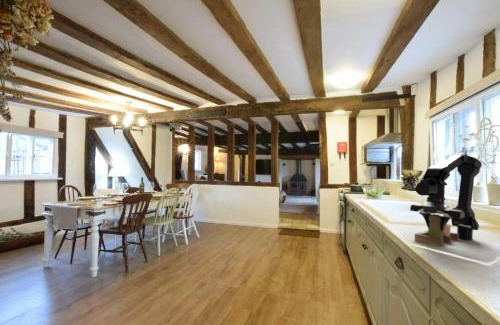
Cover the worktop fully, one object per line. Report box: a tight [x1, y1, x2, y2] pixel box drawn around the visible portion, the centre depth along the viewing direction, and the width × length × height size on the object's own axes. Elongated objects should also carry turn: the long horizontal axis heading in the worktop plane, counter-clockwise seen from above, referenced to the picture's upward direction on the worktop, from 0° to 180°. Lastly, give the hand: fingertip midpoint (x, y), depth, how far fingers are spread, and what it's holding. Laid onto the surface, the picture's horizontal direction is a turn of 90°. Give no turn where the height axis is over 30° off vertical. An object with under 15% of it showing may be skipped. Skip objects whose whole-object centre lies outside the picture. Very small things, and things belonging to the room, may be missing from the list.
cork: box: [427, 213, 444, 241], centre depth 110 cm, size 6×6×11 cm
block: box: [442, 223, 452, 236], centre depth 115 cm, size 5×5×7 cm
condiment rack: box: [414, 230, 460, 248], centre depth 113 cm, size 20×10×4 cm, turn 124°
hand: (435, 230), depth 110 cm, fingers closed on cork, 4 cm apart
